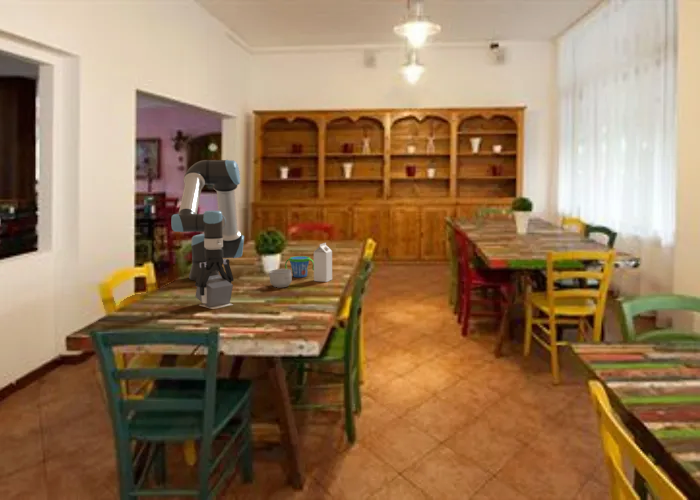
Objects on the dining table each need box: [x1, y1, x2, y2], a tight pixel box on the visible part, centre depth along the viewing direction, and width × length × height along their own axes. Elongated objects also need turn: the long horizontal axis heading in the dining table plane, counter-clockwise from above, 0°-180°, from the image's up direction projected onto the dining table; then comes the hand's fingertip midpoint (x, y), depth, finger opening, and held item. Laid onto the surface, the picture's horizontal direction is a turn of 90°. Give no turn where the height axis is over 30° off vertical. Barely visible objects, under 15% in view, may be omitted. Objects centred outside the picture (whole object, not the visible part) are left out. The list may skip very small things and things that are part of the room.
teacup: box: [268, 268, 293, 289], centre depth 282 cm, size 14×11×8 cm
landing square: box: [199, 303, 234, 310], centre depth 243 cm, size 10×10×1 cm
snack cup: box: [284, 255, 314, 278], centre depth 306 cm, size 16×10×10 cm
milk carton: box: [313, 242, 333, 283], centre depth 295 cm, size 7×7×19 cm
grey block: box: [194, 274, 234, 309], centre depth 243 cm, size 10×10×9 cm
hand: (215, 300), depth 243 cm, fingers closed on grey block, 10 cm apart
